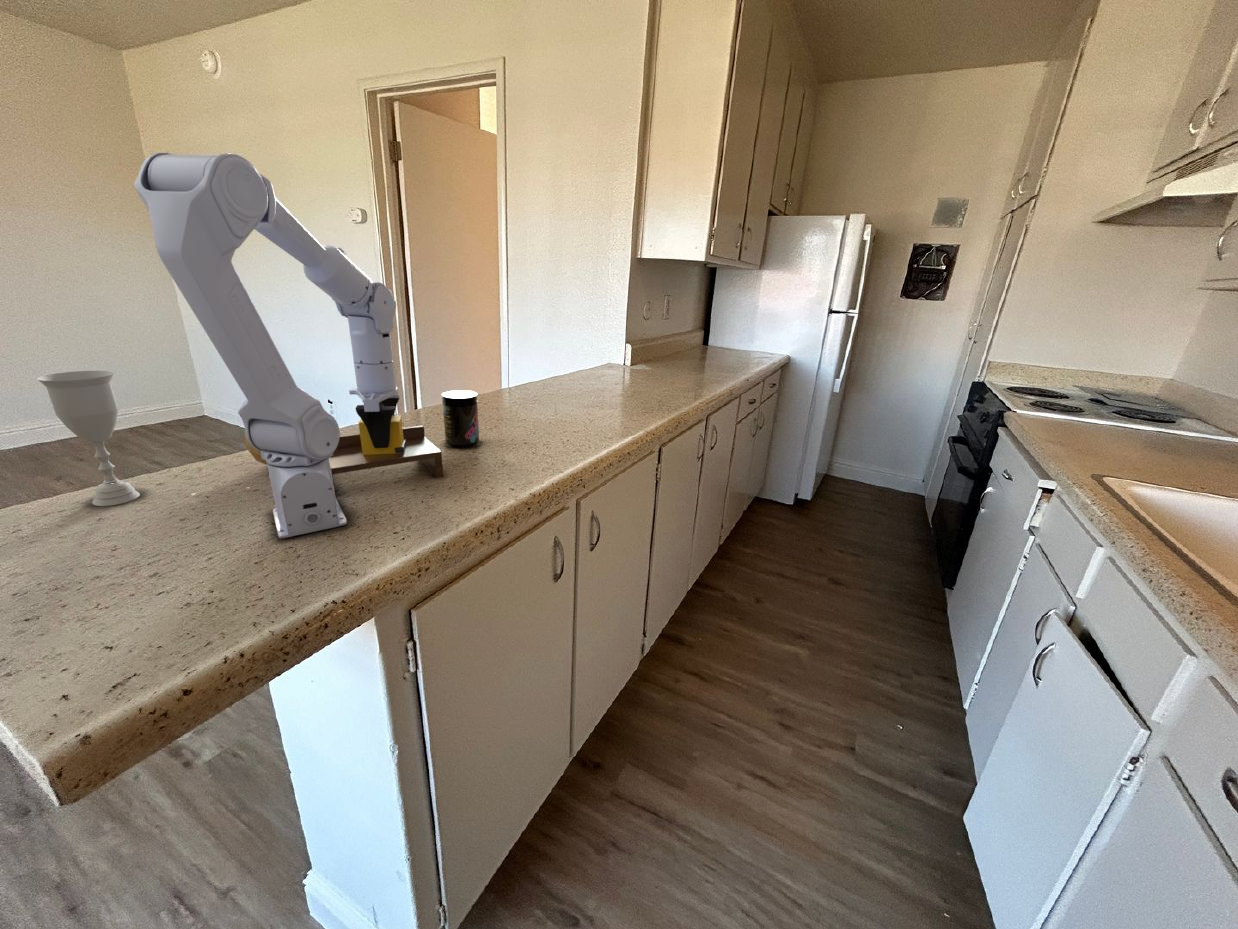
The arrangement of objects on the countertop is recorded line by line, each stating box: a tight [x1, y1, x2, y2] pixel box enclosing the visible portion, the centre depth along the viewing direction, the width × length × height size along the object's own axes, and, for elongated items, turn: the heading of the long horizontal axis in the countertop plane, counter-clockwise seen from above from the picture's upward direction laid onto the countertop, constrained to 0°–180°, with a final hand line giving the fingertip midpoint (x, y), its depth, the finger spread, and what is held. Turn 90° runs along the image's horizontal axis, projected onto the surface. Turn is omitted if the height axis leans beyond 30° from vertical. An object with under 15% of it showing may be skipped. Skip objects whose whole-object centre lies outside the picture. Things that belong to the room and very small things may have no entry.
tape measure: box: [358, 414, 406, 455], centre depth 85 cm, size 4×6×6 cm, turn 107°
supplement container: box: [441, 390, 480, 449], centre depth 103 cm, size 7×7×10 cm
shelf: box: [329, 425, 444, 478], centre depth 86 cm, size 10×18×6 cm, turn 126°
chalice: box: [36, 370, 141, 507], centre depth 71 cm, size 7×7×18 cm
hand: (383, 442), depth 85 cm, fingers open, 4 cm apart
